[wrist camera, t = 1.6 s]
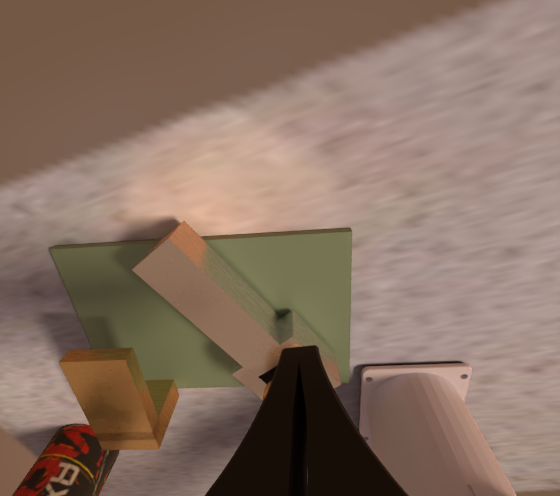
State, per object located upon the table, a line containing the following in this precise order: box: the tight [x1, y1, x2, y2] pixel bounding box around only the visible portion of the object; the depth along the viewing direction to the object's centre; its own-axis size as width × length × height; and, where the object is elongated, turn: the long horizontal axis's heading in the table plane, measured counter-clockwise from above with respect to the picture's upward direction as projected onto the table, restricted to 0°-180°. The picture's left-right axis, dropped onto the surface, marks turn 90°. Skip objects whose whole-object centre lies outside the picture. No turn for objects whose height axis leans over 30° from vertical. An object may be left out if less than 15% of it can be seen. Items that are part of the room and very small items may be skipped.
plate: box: [50, 228, 352, 388], centre depth 23 cm, size 13×19×1 cm, turn 94°
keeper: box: [59, 348, 179, 450], centre depth 22 cm, size 8×4×4 cm, turn 4°
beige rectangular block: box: [132, 221, 341, 400], centre depth 20 cm, size 14×5×3 cm, turn 39°
